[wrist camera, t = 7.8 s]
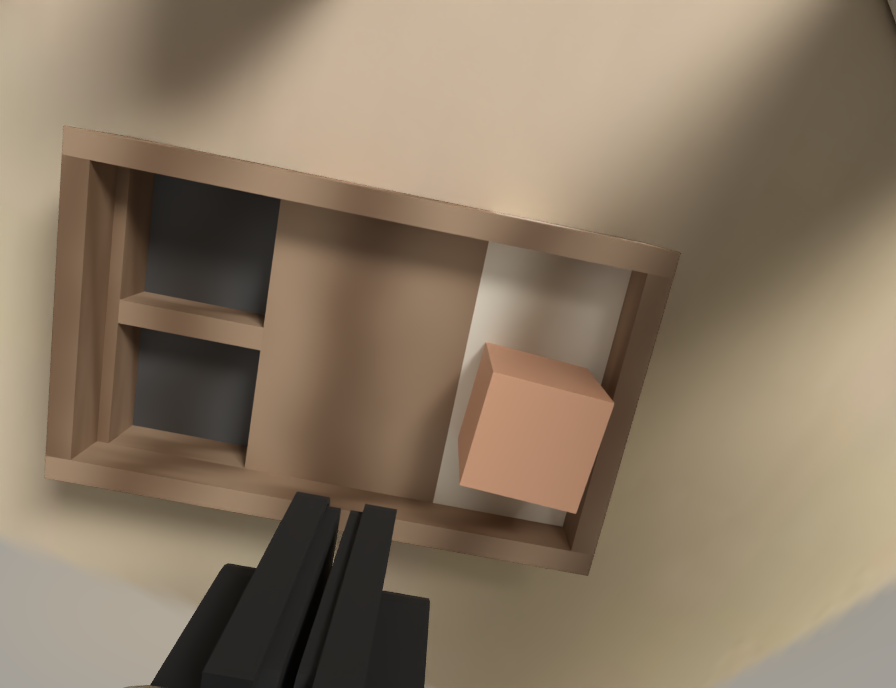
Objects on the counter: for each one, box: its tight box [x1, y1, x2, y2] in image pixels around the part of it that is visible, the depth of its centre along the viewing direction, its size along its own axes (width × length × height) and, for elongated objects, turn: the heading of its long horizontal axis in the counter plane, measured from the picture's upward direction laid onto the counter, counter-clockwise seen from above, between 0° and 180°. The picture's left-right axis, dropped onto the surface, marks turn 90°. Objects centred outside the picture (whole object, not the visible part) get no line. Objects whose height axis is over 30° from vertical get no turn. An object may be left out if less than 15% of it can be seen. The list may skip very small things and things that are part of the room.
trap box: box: [45, 126, 681, 576], centre depth 27 cm, size 23×14×4 cm, turn 79°
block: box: [458, 342, 615, 514], centre depth 25 cm, size 4×4×4 cm
